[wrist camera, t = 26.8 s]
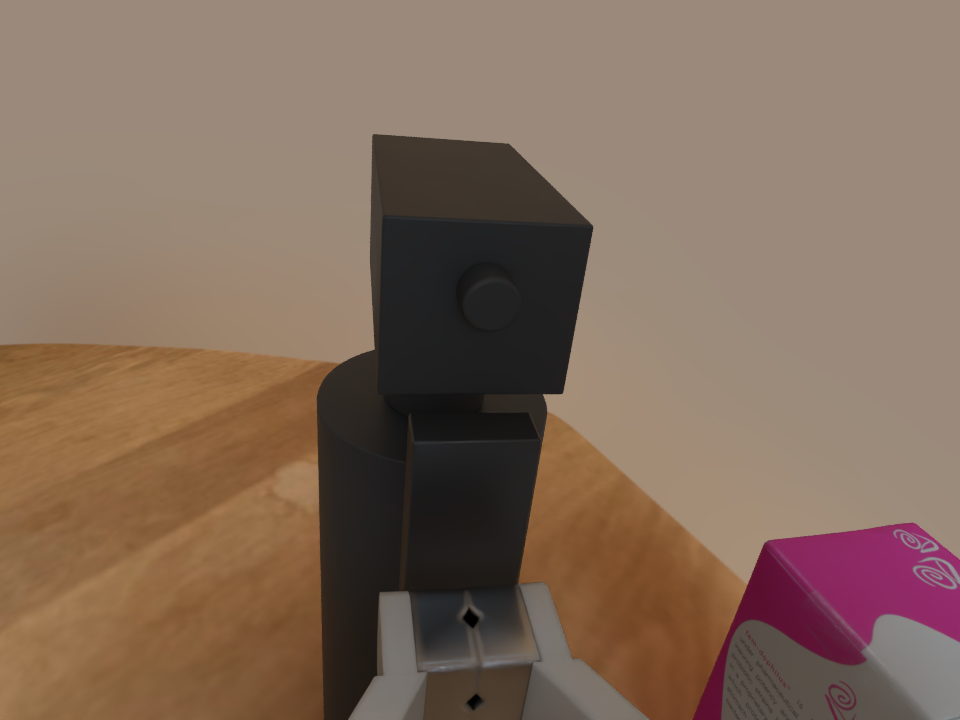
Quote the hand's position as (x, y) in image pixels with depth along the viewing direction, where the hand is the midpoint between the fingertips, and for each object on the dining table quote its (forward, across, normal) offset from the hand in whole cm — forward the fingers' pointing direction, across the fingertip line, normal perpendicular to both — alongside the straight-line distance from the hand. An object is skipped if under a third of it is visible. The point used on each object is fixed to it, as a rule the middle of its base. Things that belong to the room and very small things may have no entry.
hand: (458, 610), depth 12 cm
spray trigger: (+2, 0, +2) cm, 3 cm away
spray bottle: (+6, 0, +14) cm, 15 cm away
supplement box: (+2, -12, +14) cm, 19 cm away
